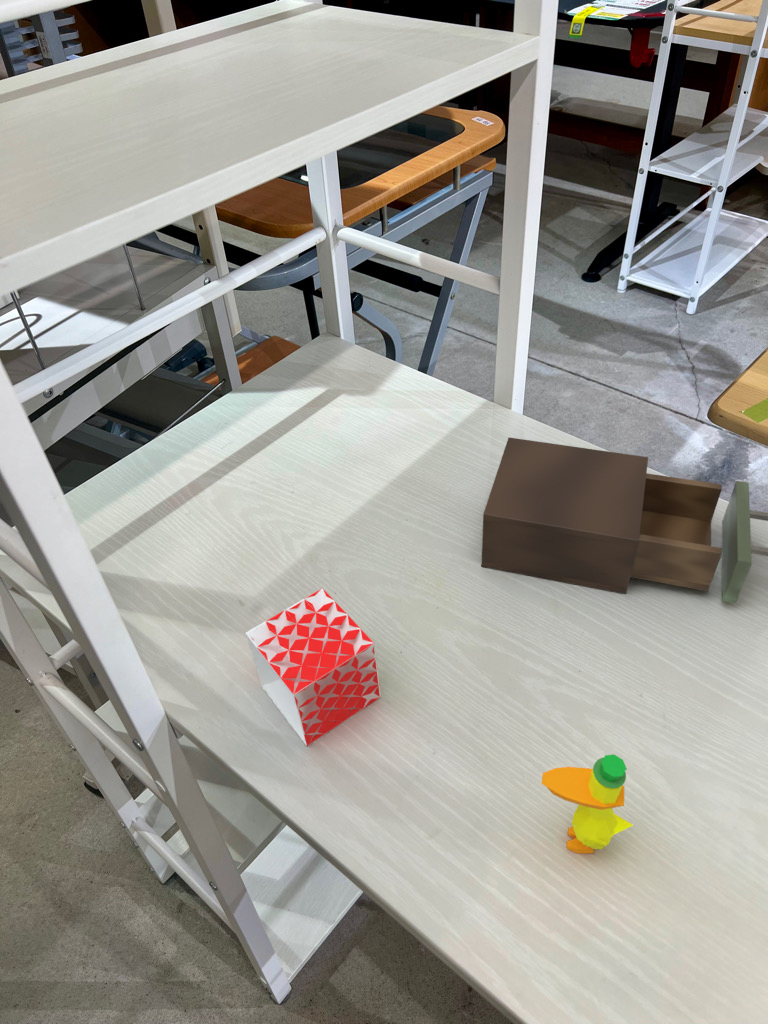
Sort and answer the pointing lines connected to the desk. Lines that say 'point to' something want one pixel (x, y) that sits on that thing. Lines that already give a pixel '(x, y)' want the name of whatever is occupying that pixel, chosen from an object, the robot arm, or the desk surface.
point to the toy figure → (591, 801)
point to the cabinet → (565, 514)
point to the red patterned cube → (315, 665)
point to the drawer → (694, 535)
